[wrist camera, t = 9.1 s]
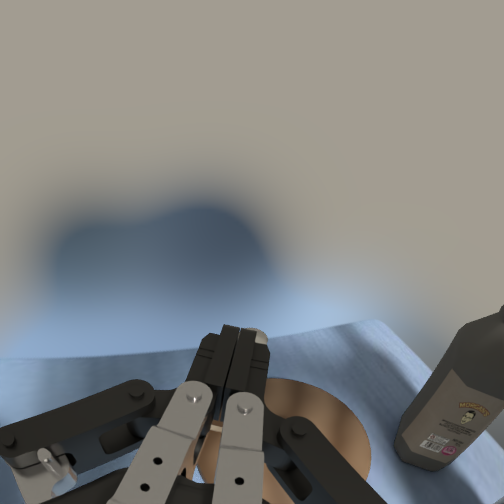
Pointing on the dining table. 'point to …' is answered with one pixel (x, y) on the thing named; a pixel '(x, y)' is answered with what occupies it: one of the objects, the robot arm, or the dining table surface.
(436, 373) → the liquor
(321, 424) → the round wooden board
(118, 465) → the dining table surface
